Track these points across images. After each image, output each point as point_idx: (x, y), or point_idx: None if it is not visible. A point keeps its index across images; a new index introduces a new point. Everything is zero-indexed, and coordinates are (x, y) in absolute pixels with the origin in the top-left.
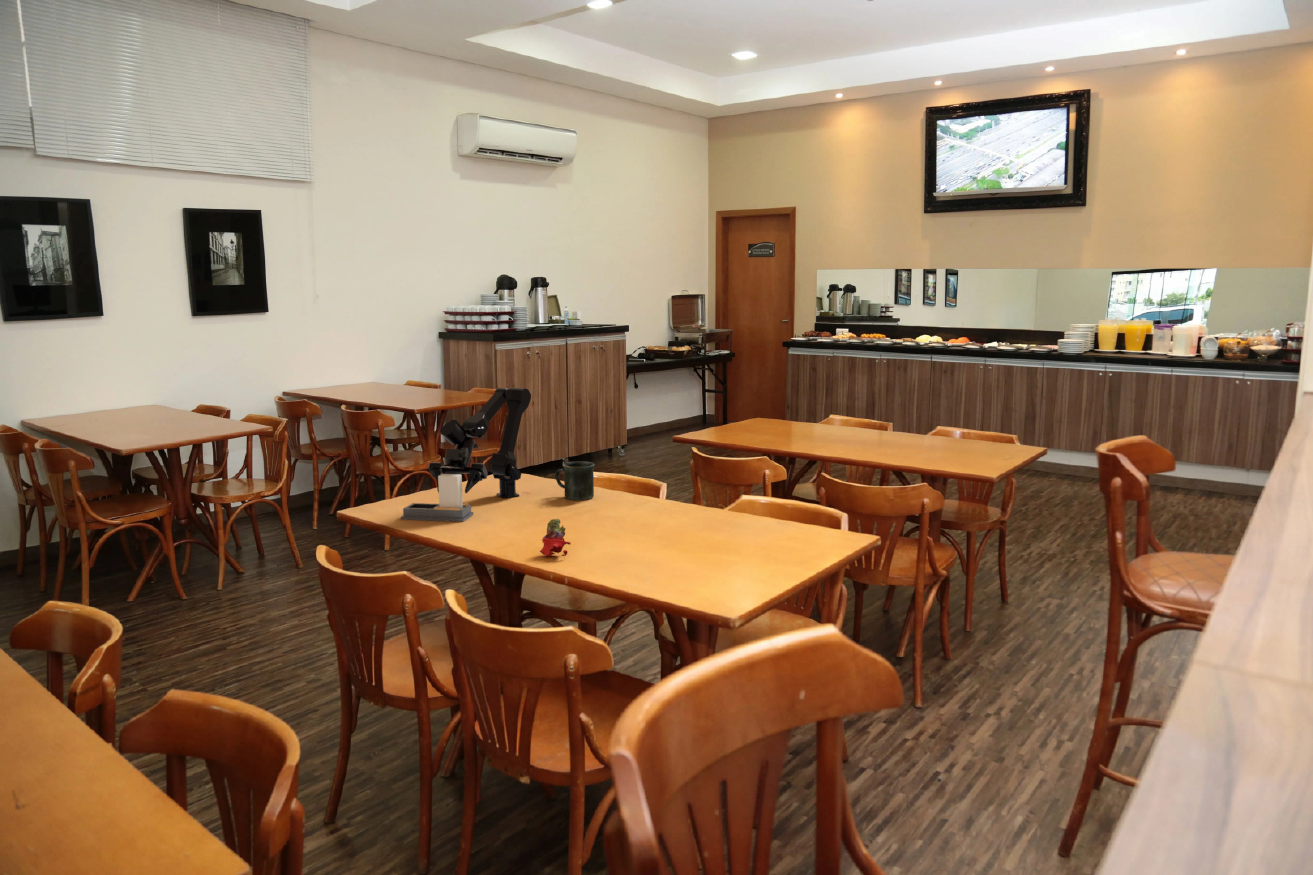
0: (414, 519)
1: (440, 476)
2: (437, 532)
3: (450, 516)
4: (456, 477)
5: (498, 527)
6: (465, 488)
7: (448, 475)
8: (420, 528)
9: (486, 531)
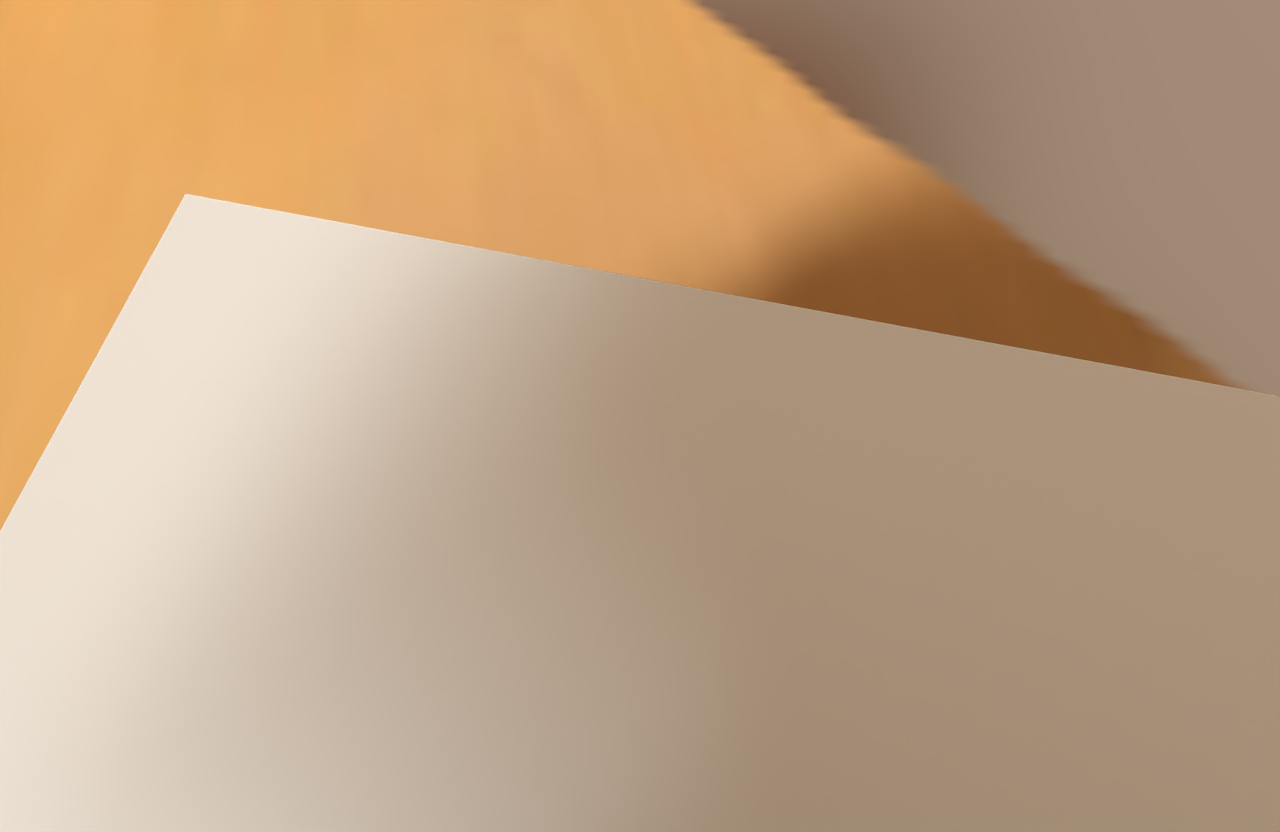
0: None
1: (1129, 384)
2: (672, 96)
3: None
4: (258, 227)
5: (138, 205)
6: None
7: (719, 548)
8: (861, 215)
9: (258, 99)
